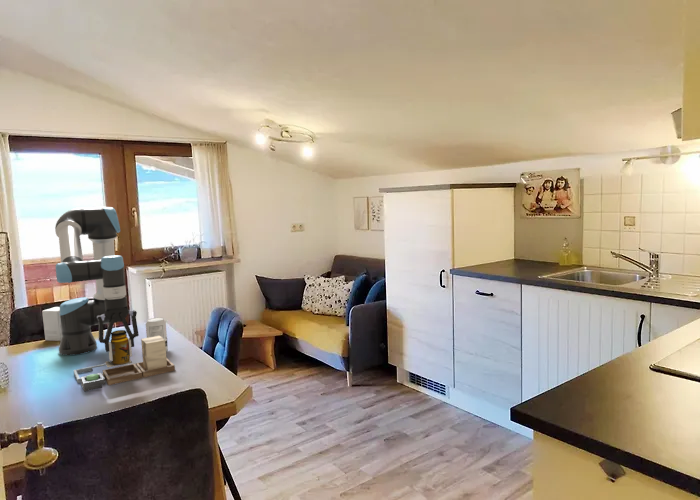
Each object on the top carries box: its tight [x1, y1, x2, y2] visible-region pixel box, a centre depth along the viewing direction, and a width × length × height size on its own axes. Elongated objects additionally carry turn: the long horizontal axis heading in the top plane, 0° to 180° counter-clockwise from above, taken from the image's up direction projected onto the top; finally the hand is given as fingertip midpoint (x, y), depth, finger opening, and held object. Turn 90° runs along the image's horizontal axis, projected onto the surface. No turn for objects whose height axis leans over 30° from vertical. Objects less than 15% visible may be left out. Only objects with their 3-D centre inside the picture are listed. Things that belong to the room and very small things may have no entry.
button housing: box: [80, 372, 106, 392], centre depth 186 cm, size 8×7×3 cm
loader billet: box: [140, 336, 168, 371], centre depth 197 cm, size 8×7×12 cm
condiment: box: [104, 329, 133, 368], centre depth 189 cm, size 7×8×12 cm
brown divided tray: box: [102, 357, 176, 386], centre depth 195 cm, size 13×24×3 cm, turn 125°
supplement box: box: [41, 306, 62, 342], centre depth 250 cm, size 9×9×15 cm
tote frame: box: [73, 363, 129, 384], centre depth 199 cm, size 13×19×2 cm
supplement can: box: [145, 317, 169, 353], centre depth 221 cm, size 8×8×15 cm
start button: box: [86, 373, 99, 381], centre depth 186 cm, size 4×4×2 cm
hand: (120, 357), depth 190 cm, fingers closed on condiment, 6 cm apart
